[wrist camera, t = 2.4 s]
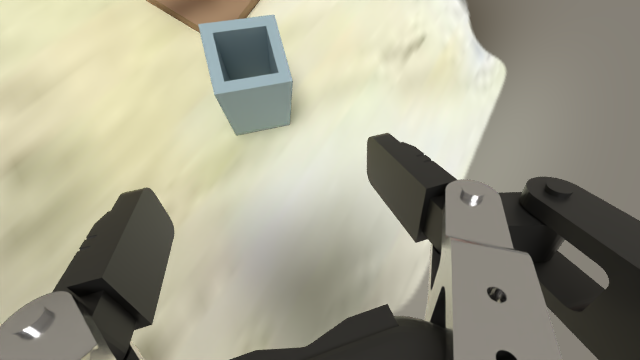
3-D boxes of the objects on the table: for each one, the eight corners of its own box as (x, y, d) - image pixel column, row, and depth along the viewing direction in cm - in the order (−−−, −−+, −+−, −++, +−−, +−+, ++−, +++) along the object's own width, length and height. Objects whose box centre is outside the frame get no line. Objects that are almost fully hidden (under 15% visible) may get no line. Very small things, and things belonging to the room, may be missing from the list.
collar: (236, 135, 28) (214, 94, 19) (224, 85, 28) (198, 24, 20) (289, 124, 29) (292, 81, 20) (276, 76, 30) (274, 14, 21)
